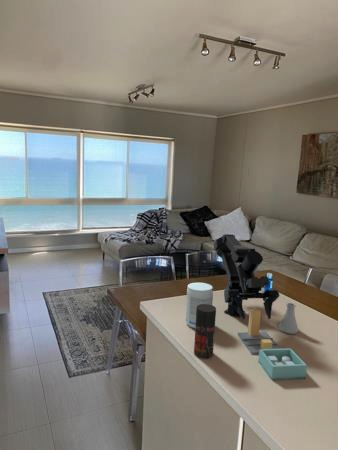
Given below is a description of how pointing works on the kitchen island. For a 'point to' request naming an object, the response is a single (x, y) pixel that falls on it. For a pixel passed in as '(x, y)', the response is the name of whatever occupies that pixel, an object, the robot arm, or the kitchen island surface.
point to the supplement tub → (197, 300)
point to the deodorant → (204, 331)
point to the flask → (289, 320)
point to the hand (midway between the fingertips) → (256, 319)
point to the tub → (282, 364)
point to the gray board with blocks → (256, 335)
